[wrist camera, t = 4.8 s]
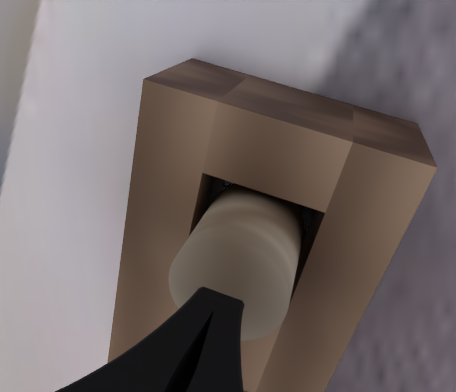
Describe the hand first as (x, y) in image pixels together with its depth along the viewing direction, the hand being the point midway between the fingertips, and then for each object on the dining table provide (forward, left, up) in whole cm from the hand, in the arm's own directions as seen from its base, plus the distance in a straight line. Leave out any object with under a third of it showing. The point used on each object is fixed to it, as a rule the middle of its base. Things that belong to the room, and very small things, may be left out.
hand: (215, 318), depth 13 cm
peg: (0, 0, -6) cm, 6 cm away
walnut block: (0, +5, -9) cm, 11 cm away
